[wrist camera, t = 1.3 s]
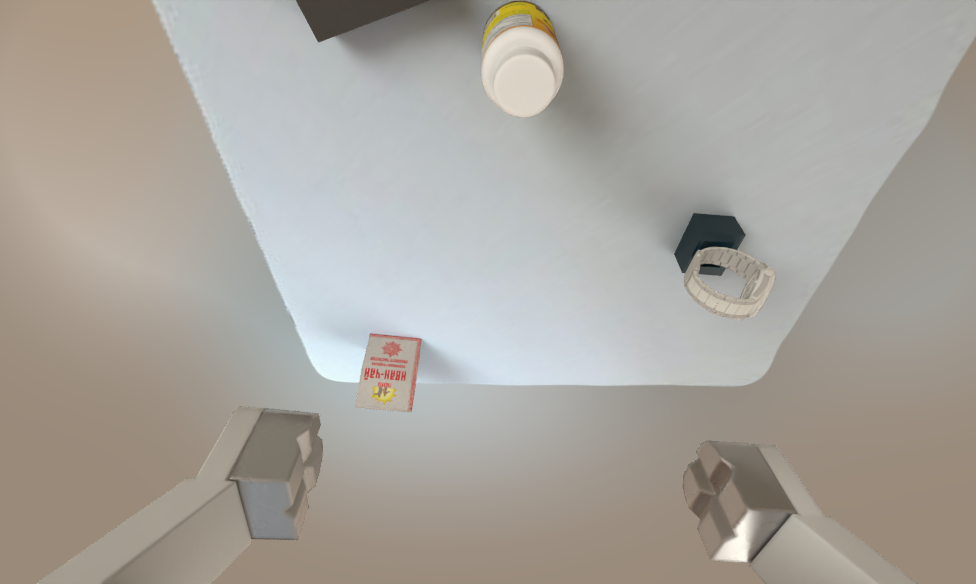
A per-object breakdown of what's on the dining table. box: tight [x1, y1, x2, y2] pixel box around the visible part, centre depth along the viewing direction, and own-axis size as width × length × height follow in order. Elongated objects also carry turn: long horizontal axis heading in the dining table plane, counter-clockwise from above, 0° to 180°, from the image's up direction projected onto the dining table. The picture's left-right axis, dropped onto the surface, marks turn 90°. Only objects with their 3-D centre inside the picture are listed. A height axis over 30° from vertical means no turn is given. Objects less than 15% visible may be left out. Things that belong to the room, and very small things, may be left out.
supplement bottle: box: [481, 0, 564, 117], centre depth 33 cm, size 6×6×10 cm
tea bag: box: [355, 334, 421, 412], centre depth 60 cm, size 4×7×10 cm, turn 81°
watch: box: [674, 213, 776, 320], centre depth 47 cm, size 6×8×11 cm
